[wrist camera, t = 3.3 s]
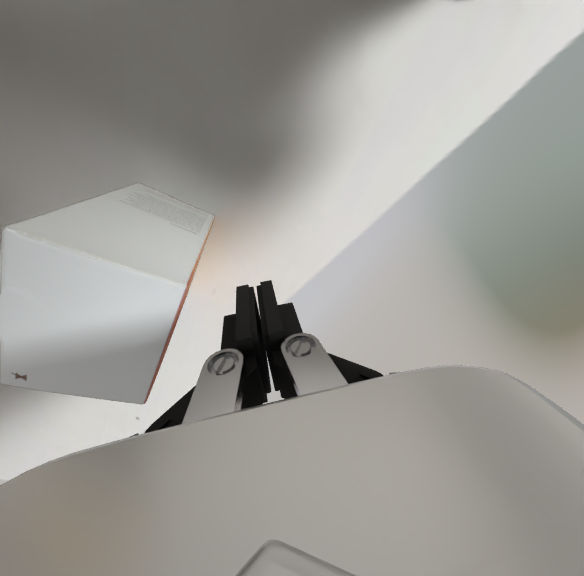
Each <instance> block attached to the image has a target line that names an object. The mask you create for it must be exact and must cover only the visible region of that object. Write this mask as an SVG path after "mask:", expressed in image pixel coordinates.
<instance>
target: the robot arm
mask: <svg viewBox="0 0 584 576" xmlns="http://www.w3.org/2000/svg"><path fill="white" fill-rule="evenodd" d="M260 284H261V285H259V286H257V294H258V303H259V311H260V315H259V311H258V306H257V302H256V297H255V293H254V288H253V287H249V286H248V285H243V286H238V287H237V290H236V314H232V315H227V316H224V323H223V333H222V343H221V350H220V351H218V352H215V353H214V354H212V355H211V356H210V357H209V358H208V359H207V360H206V361H205V363H204V365H203V368H202V370H201V373H200V376H199V378H198V381H197V384H196V386H195V387H193V388H192V389H191V390H190V391H189V392H188V393H187V394H186V395H184V396H183V397H182V398H181V399H180V400H179V401H178V402H176V403H175V404H174V405H173V406H172V407H171V408H170V409H169V410H167V411H166V412H165V413H164V414H163V415H162V416H161V417H159V418H158V419H157V420H156V421H155V422H154V423H153V424H152V425H151V426H150V427H149V428H148V429H147V430H146V432H145V433H144V434H141V435H139V434H138V433H137V434H135V435H133V436H130V437H128V438H125V439H121V440H117V441H113V442H110V443H106V444H103V445H99V446H96V447H92V448H89V449H85V450H81V451H78V452H74V453H71V454H69V455H66V456H63V457H60V458H57V459H54V460H51V461H49V462H47V463H44V464H42V465H40V466H37V467H35V468H33V469H31V470H28V471H26V472H24V473H22V474H21V475H19V476H17V477H15V478H13V479H11V480H9V481H7V482H6V483H4V484H2V485H0V576H584V424H582V423H581V422H580V421H579V420H577V419H576V418H575V417H573V416H572V415H570V414H569V413H568V412H566V411H565V410H563V409H562V408H561V407H560V406H558V405H557V404H556V403H554V402H553V401H551V400H550V399H549V398H547V397H546V396H544V395H543V394H541V393H540V392H538V391H537V390H536V389H534V388H532V387H531V386H529V385H528V384H526V383H524V382H523V381H521V380H519V379H517V378H515V377H513V376H511V375H509V374H506V373H503V372H501V371H498V370H493V369H488V368H483V367H474V366H463V365H453V366H436V367H427V368H421V369H416V370H411V371H406V372H398V373H389V375H386V376H383V375H382V374H381V373H379V372H377V371H375V370H372V369H369V368H367V367H364V366H361V365H359V364H356V363H353V362H350V361H348V360H345V359H343V358H340V357H337V356H334V355H332V354H329V353H327V352H326V350H325V349H324V348H323V346H322V345H321V343H320V342H319V340H318V339H317V338H316V337H315V336H313V335H311V334H306V333H303V332H302V329H301V326H300V323H299V320H298V318H297V315H296V312H295V309H294V306H293V303H287V304H282V305H277V301H276V297H275V293H274V289H273V285H272V281H271V280H270V281H264V282H260ZM266 353H267V354H266ZM267 357H268V361H269V366H270V370H271V374H272V379H273V383H274V388H275V391H279V390H280V393H281V397H282V398H284V400H279V401H275V402H271V403H267V404H263V403H265V402H267V393H270V392H271V385H270V377H269V370H268V362H267ZM262 404H263V405H262Z"/></svg>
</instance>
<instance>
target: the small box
mask: <svg viewBox="0 0 584 576" xmlns="http://www.w3.org/2000/svg"><path fill="white" fill-rule="evenodd" d="M214 218H215V217H214V216H213V215H211V214H209V213H207V212H204V211H202V210H200V209H197V208H195V207H193V206H190V205H188V204H186V203H183V202H181V201H179V200H177V199H174V198H172V197H170V196H167V195H165V194H163V193H161V192H158V191H156V190H154V189H151V188H149V187H147V186H145V185H142V184H140V183H136V184H133V185H130V186H127V187H124V188H121V189H118V190H115V191H112V192H108V193H105V194H103V195H100V196H97V197H94V198H91V199H87V200H85V201H81V202H78V203H75V204H72V205H69V206H67V207H64V208H61V209H58V210H55V211H52V212H49V213H46V214H43V215H39V216H36V217H33V218H31V219H27V220H24V221H21V222H18V223H14V224H11V225H8V226H6V227H4V228H3V230H2V232H1V247H0V384H5V385H10V386H16V387H22V388H27V389H33V390H40V391H46V392H53V393H60V394H68V395H75V396H81V397H89V398H97V399H104V400H111V401H119V402H127V403H136V404H145V403H146V401H147V399H148V396H149V394H150V391H151V389H152V386H153V384H154V381H155V379H156V376H157V374H158V371H159V368H160V366H161V363H162V361H163V358H164V355H165V353H166V350H167V347H168V345H169V342H170V339H171V337H172V334H173V331H174V329H175V326H176V323H177V320H178V318H179V315H180V312H181V310H182V307H183V305H184V302H185V299H186V297H187V294H188V291H189V288H190V285H191V282H192V279H193V277H194V274H195V271H196V268H197V265H198V263H199V260H200V257H201V254H202V251H203V249H204V246H205V243H206V240H207V237H208V235H209V232H210V229H211V226H212V224H213V221H214Z"/></svg>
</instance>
